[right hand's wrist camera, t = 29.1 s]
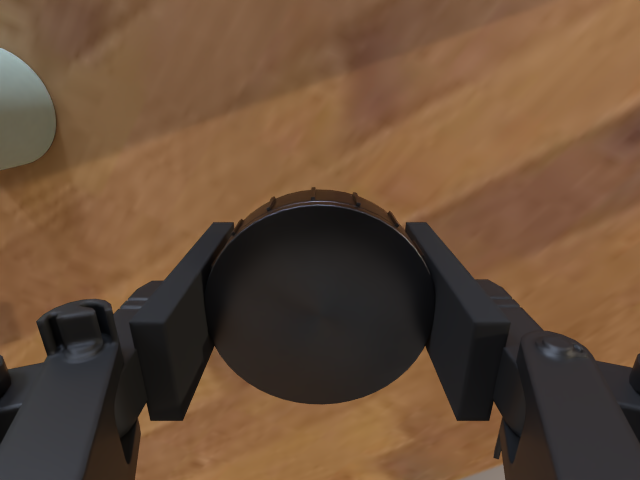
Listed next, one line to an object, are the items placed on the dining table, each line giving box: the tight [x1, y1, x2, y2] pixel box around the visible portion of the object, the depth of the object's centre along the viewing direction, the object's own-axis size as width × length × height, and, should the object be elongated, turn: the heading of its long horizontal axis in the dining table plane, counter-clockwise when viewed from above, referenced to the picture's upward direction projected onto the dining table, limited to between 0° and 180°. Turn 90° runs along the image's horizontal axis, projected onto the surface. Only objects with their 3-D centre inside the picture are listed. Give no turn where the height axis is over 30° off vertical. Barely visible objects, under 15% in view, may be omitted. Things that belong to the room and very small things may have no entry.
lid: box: [204, 187, 435, 404], centre depth 11 cm, size 7×7×2 cm
